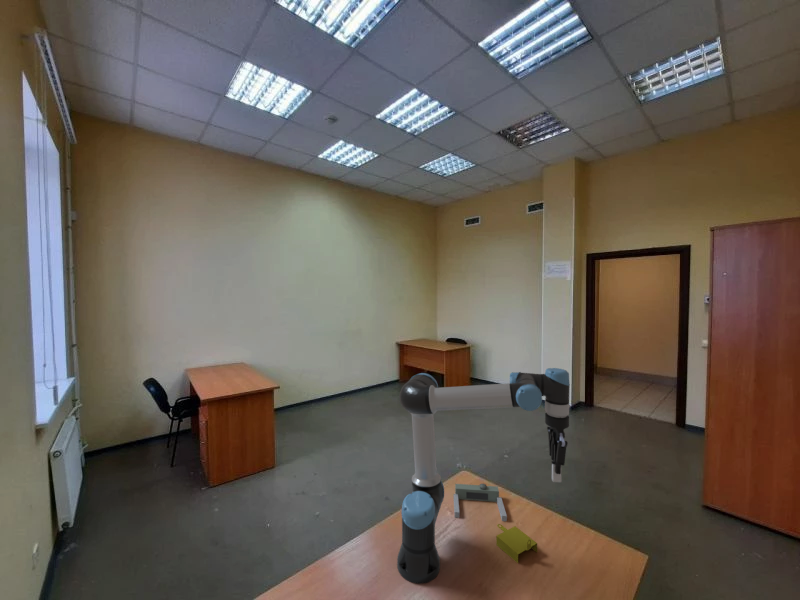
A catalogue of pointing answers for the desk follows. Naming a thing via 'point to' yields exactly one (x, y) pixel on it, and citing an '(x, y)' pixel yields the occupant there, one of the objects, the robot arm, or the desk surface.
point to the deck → (478, 496)
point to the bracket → (514, 542)
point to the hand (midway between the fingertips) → (556, 480)
